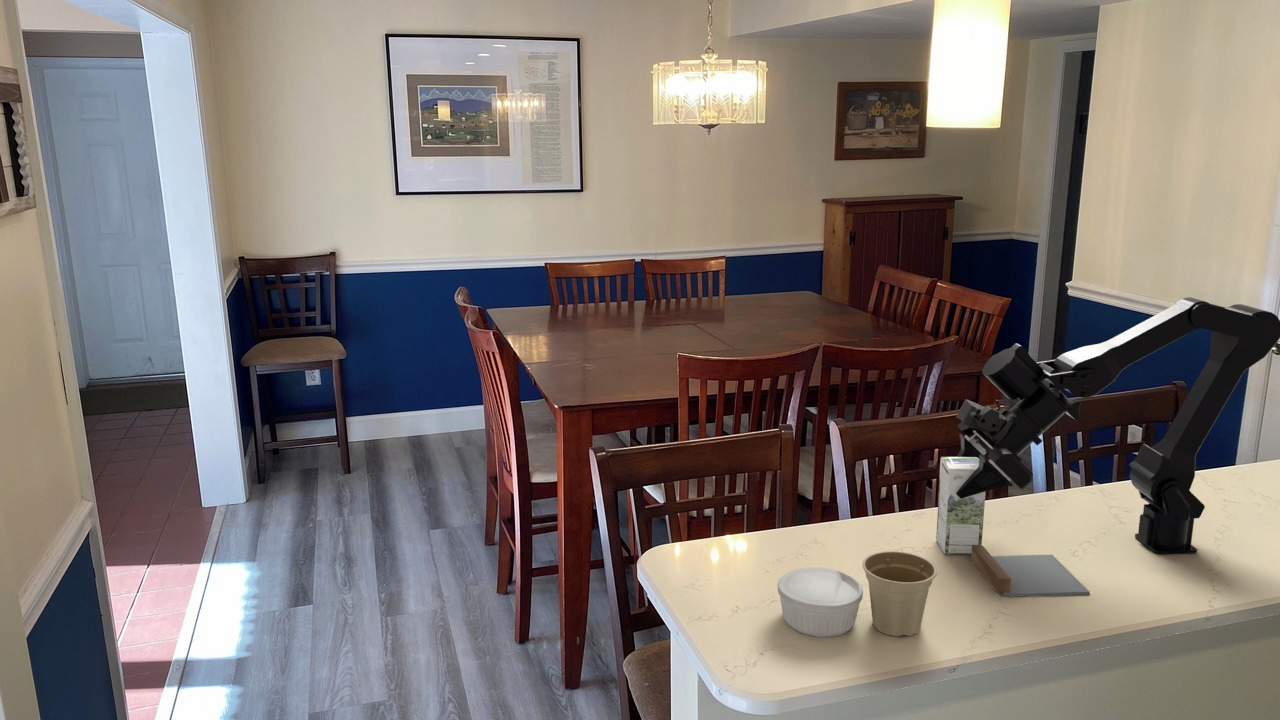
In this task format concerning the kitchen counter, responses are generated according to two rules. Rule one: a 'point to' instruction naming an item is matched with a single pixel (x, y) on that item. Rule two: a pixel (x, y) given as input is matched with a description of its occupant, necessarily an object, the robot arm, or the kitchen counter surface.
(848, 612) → the ramekin
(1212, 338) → the robot arm
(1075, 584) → the seat mat
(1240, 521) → the kitchen counter surface
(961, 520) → the syrup box
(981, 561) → the stop block
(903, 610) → the flower pot
